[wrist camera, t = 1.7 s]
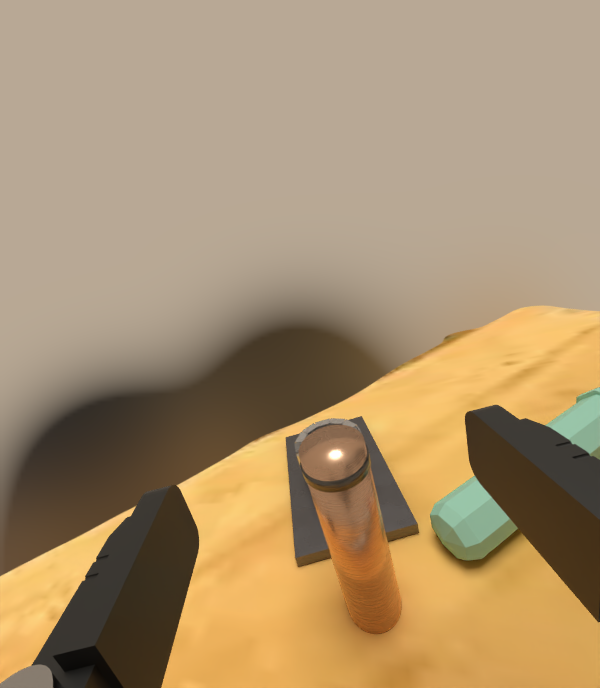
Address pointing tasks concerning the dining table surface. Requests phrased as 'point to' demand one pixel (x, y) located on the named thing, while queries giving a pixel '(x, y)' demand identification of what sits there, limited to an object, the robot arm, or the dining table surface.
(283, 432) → the dining table surface
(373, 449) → the stove plate
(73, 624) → the robot arm
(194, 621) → the dining table surface
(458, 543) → the container
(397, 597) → the metal tube
